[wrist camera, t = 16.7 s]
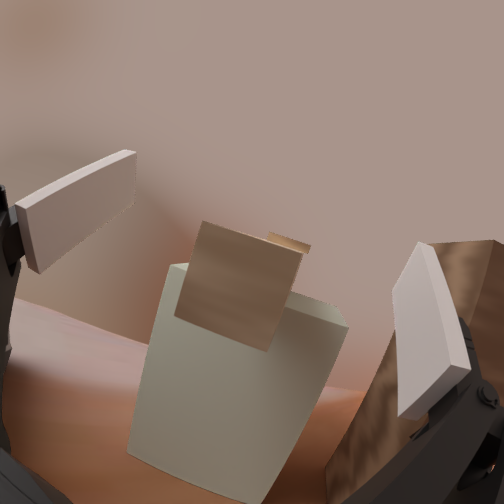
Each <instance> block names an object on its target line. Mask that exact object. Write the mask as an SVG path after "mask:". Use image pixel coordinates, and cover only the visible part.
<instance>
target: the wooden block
mask: <svg viewBox="0 0 504 504" xmlns="http://www.w3.org/2000/svg"><path fill="white" fill-rule="evenodd" d="M427 245H430V246H432V247H433V248H434V250H435V253H436V255H437V258H438V261H439V263H440V266H441V269H442V271H443V274H444V277H445V280H446V282H447V285H448V288H449V291H450V294H451V297H452V300H453V303H454V307H455V310H456V313H457V316H458V317H461V318H463V320H464V321H465V323H466V325H467V326H468V328H469V330H470V333H471V337H472V342H473V344H474V347H475V349H474V351H476V355H477V359H478V362H479V367H480V371H481V375H482V379H484V380H487V381H488V382H489V383H490V384H492V385H493V387H494V388H495V389H496V391H497V393H498V396H499V399H500V406H502V407H504V245H503V244H501V243H499V242H497V241H495V240H484V241H468V242H452V243H436V244H427ZM427 422H429V418H428V412H427V413H426V414H424V415H423V416H422V417H421V418H420V419H419V420H417V421H415V420H410V419H405V418H400V417H398V373H397V348H396V332H395V330H394V333H393V336H392V338H391V340H390V343H389V345H388V348H387V350H386V353H385V355H384V357H383V359H382V361H381V364H380V366H379V368H378V370H377V373H376V375H375V377H374V379H373V381H372V383H371V385H370V388H369V390H368V391H367V393H366V396H365V398H364V400H363V401H362V403H361V405H360V407H359V409H358V411H357V413H356V415H355V417H354V419H353V421H352V422H351V424H350V426H349V428H348V430H347V431H346V433H345V435H344V437H343V439H342V440H341V442H340V444H339V445H338V447H337V449H336V450H335V452H334V454H333V455H332V457H331V459H330V460H329V462H328V464H327V465H326V467H325V469H326V492H327V504H340V503H342V502H343V501H344V500H346V499H347V498H348V497H349V496H351V495H352V494H353V493H354V492H355V491H357V490H358V489H359V488H360V487H361V486H363V485H364V484H365V483H366V482H367V481H368V480H369V479H371V478H372V477H373V476H374V475H375V474H376V473H377V472H378V471H379V470H380V469H382V468H383V467H384V466H385V465H386V464H387V463H388V462H389V461H390V460H391V459H392V458H393V457H394V456H395V455H396V454H397V453H398V452H399V451H400V450H401V449H402V448H403V447H404V446H405V445H406V444H407V443H408V442H409V441H410V440H411V438H410V437H409V436H411V435H412V434H413V433H415V432H416V431H417V430H419V429H420V428H421V427H422V426H424V425H425V424H426V423H427Z"/></svg>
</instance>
